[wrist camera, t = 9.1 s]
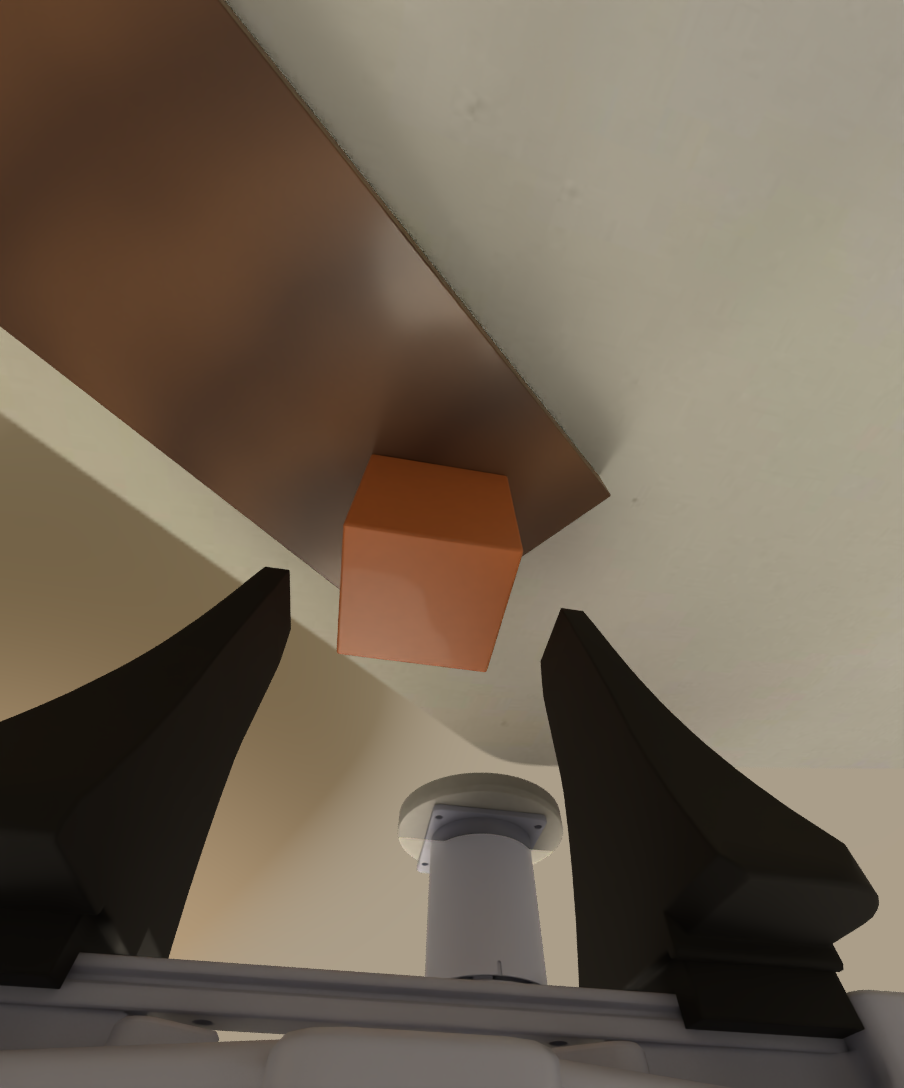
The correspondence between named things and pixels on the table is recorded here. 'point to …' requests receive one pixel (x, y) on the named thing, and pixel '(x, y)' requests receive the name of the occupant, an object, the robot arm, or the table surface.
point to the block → (427, 564)
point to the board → (241, 278)
